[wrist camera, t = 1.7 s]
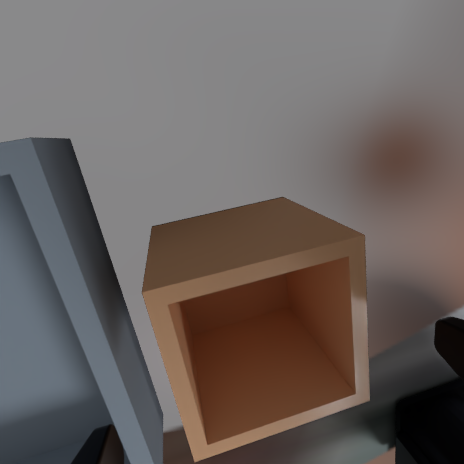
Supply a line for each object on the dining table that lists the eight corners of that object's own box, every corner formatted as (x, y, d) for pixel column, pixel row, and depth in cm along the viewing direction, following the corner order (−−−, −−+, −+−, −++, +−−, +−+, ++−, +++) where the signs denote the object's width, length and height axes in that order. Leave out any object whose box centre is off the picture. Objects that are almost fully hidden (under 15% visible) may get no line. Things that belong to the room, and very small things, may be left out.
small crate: (282, 196, 14) (364, 234, 8) (296, 307, 16) (370, 400, 10) (152, 226, 13) (141, 292, 7) (183, 339, 15) (195, 461, 9)
